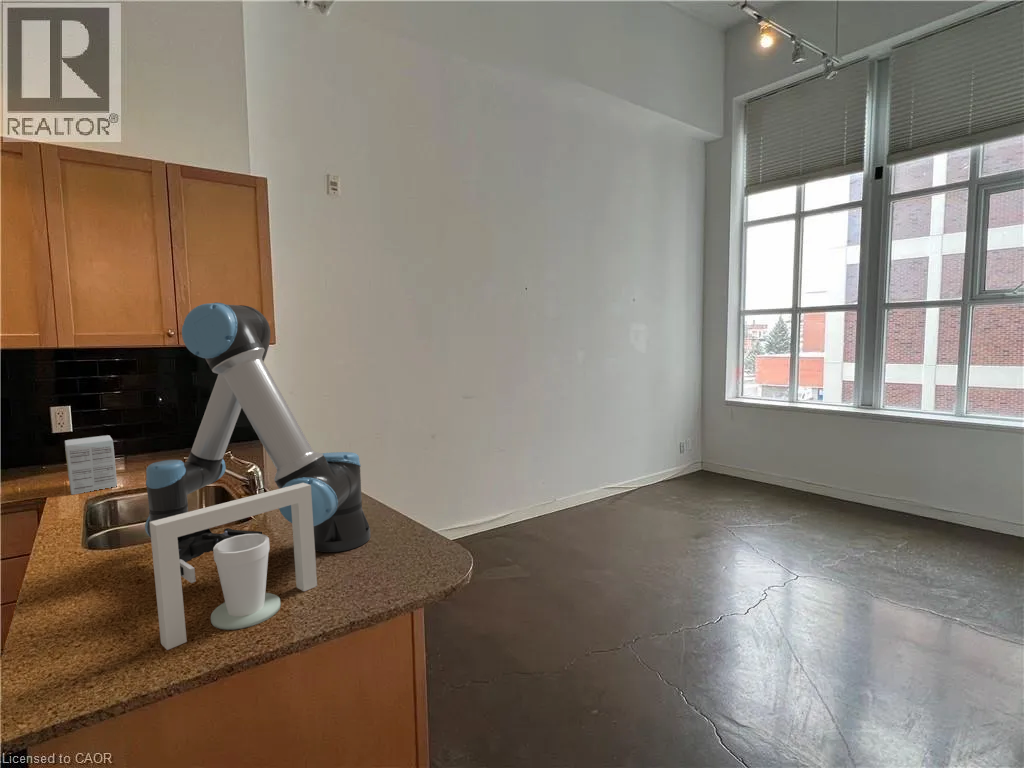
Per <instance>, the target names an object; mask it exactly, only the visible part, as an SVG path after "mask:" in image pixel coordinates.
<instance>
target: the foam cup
mask: <svg viewBox="0 0 1024 768" xmlns="http://www.w3.org/2000/svg"><path fill="white" fill-rule="evenodd" d="M270 550H271V549H270V537H268V535H266V534H263V533H262V534H244V535H238V536H234V537H231V538H227V539H224V540H222V541H221V542H219V543H217V544H216V545H215V546H214V548H213V551H212V552H213V561H214V562H215V564H216V568H217V572H218V578H219V582H220V585H221V586H220V587H221V590H222V593H223V598H224V602H225V603H226V607H227V610H228V613H229V615H231V616H235V617H236V616H246V615H250V614H253V613H255V612H257V611H259V610H260V609H261V608H263V606H264V601H265V593H266V592H267V591H266V590H267V578H268V577H267V576H268V575H267V574H268V565H269V563H268V562H269V553H270Z"/></svg>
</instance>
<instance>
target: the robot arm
mask: <svg viewBox="0 0 1024 768" xmlns="http://www.w3.org/2000/svg"><path fill="white" fill-rule="evenodd" d="M270 327H271V326H270V324H269V322H268V320H267V318H266V316H265V315H264V314H263V313H261V311H260V310H257V309H256V308H255V307H252V306H249V305H248V306H247V305H243V304H241V305H240V304H239V305H238V304H236V305H235V304H228V303H227V304H226V303H222V302H214V303H213V302H212V303H202V304H200V305H197V306H196V307H194V308H192V309H191V310H190V311H189V312H188V314H187V315H186V316H185V317H184V322H183V325H182V328H181V335H182V336H181V337H182V341H183V343H184V345H185V347H186V349H187V350H188V351H189V352H190V353H192V354H193V355H195V356H197V357H199V358H202V359H205V361H206V363H207V365H208V366H209V368H210V371H212V373H214V374H217V377H216V380H215V383H214V386H213V388H212V391H211V394H210V397H209V400H208V402H207V405H206V409H205V411H204V415H203V417H202V419H201V423H200V425H199V428H198V430H197V433H196V437H195V438H194V442H193V444H192V448H191V450H190V453H189V455H188V457H187V459H186V460H187V461H185V462H184V461H182V459H166V460H160V461H155V462H152V463H150V464H148V465H147V467H146V470H145V471H146V472H145V473H146V478H145V479H146V480H145V486H146V491H147V501H148V502H147V503H148V510H149V513H148V517H147V519H146V522H145V524H144V530H145V533H146V534H147V536H148V537H150V538H151V533H150V522H151V521H155V520H159V519H163V518H167V517H171V516H175V515H178V514H182V513H186V512H189V504H188V495H189V494H192V493H194V492H195V491H198V490H201V489H202V488H205V487H207V486H209V485H212V484H214V483H216V481H218V480H220V479H221V478H222V477H223V476H224V474H225V473H226V469H227V466H226V462H225V460H224V456H225V453H226V451H227V448H228V445H229V443H230V440H231V437H232V435H233V432H234V429H235V426H236V425H237V424H236V423H237V422H238V419H239V416H240V413H241V411H243V413H244V414H245V416H246V418H247V419H248V421H249V423H250V425H251V426H252V428H253V430H254V432H255V433H256V435H257V437H258V439H259V441H260V443H261V444H262V447H264V450H265V451H266V453H267V455H268V456H269V459H270V460H271V461H272V463H273V465H274V467H275V469H276V472H275V476H274V480H273V481H274V482H275V485H276V486H277V489H280V488H284V487H288V486H292V485H296V484H300V483H306V484H309V485H311V494H312V510H313V526H314V543H315V552H319V553H320V552H321V553H338V552H345V551H349V550H353V549H356V548H358V547H361V546H363V545H365V544H366V543H367V542H369V541H370V539H371V527H370V524H369V522H368V520H367V517H366V515H365V513H364V512H365V511H364V509H363V503H362V501H363V498H362V482H361V481H362V479H361V466H362V465H361V463H360V455H358V454H357V453H356V452H351V451H349V452H348V451H340V452H338V451H336V452H335V451H334V452H324V453H323V452H322V453H321V452H317V451H314V450H313V447H311V444H310V442H309V441H308V439H307V437H306V436H305V433H304V432H303V431H302V429H301V427H300V424H299V423H298V421H297V419H296V418H295V416H294V414H293V412H292V410H291V408H290V407H289V404H287V401H286V400H285V398H284V396H283V394H282V393H281V391H280V388H279V387H278V385H277V383H276V382H275V380H274V378H273V376H272V374H271V373H270V371H269V369H268V368H267V366H266V364H265V359H266V356H267V353H268V350H269V347H270V343H271V334H272V333H271V332H272V331H271V328H270ZM279 512H280V513H281V515H282V517H284V519H285V520H286V521H288V522H289V523H290V524H292V512H291V505H289V506H286V507H282V508H279ZM244 534H263V531H258V530H245V529H243V530H241V529H233V528H229V527H228V528H224V529H223V532H222V533H216V532H212V531H211V528H208V529H205V530H201V531H198V532H194V533H191V534H187V535H184V536H180V537H177V538H178V549H179V560H180V572H181V578H183V579H185V580H186V581H188V582H189V583H190V584H193V583H195V582H196V571H195V567H193V565H191V564H189V563H188V562H190V561H192V560H193V559H196V558H198V557H200V556H201V555H203V554H204V553H205V554H206V553H207V554H208V553H210V552H213V548H214V546H215V545H216V544H217V543H219V542H221V541H222V540H224V539H227V538H231V537H234V536H238V535H244Z"/></svg>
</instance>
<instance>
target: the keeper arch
mask: <svg viewBox="0 0 1024 768" xmlns="http://www.w3.org/2000/svg"><path fill="white" fill-rule="evenodd" d="M289 505H291V512H292V523H291V524H292V540H293V556H294V568H295V569H294V571H295V583H296V585H295V586H296V588H297V589H299V590H301V591H302V592H306V591H308V590H311V589H313V588H315V587H318V578H317V562H316V560H317V559H316V551H315V543H314V526H313V510H312V494H311V485H309V484H306V483H300V484H296V485H292V486H288V487H284V488H280V489H279V488H277V489H273V490H269V491H266V492H265V491H264V492H262V493H257V494H254V495H249V496H246V497H242V498H237V499H234V500H233V499H232V500H230V501H227V502H222V503H219V504H214V505H210V506H207V507H202V508H199V509H195V510H190V511H188V512H186V513H182V514H178V515H175V516H171V517H167V518H163V519H159V520H155V521H151V522H150V533H151V537H150V543H151V551H152V552H151V554H152V564H153V573H154V582H155V583H154V585H155V594H156V606H157V607H156V608H157V614H158V615H157V616H158V617H157V618H158V625H159V626H158V627H159V638H160V644H161V645H162V647H163V648H164V649H166V651H169V650H171V649H173V648H176V647H178V646H181V645H182V644H183V645H184V644H186V643H187V642H188V640H187V639H188V638H187V630H186V628H187V627H186V619H185V608H184V594H183V586H182V576H181V572H180V560H179V549H178V538H177V537H180V536H184V535H187V534H191V533H194V532H198V531H201V530H205V529H208V528H209V529H211V528H214V527H215V528H216V527H218V526H222V525H225V524H230V523H233V522H235V521H236V522H237V521H240V520H243V519H247V518H250V517H254V516H257V515H260V514H261V515H262V514H264V513H267V512H271V511H274V510H278V509H279V508H282V507H286V506H289ZM280 609H281V598H280V597H279V596H278V595H276V594H274V593H271V592H265V601H264V606H263V608H261V609H260V610H259V611H257V612H255V613H253V614H250V615H246V616H236V617H235V616H231V615H229V613H228V610H227V607H226V603H225V601H224V602H223V603H221V604H220V605H218V606H217V607H216V608H215V609H214V610H213V611H212V613H211V614H210V623H211V624H212V626H213V627H215V628H216V629H218V630H219V629H220V630H225V631H226V630H227V631H230V630H232V631H233V630H240V629H246V628H250V627H252V626H257V625H258V624H261V623H264V622H266V621H267V620H269V619H270V618H272V617H274V615H276V614H277V613H278V611H280Z"/></svg>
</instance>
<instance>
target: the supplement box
mask: <svg viewBox="0 0 1024 768" xmlns="http://www.w3.org/2000/svg"><path fill="white" fill-rule="evenodd" d="M64 448H65V449H64V450H65V459H66V468H67V475H68V484H69V488H70V489H69V490H70V494H71V495H77V494H78V495H79V494H83V493H84V492H85V493H90V491H91V492H95V491H94V490H97V491H100V490H99V489H103V490H106V489H105V488H109V489H112V488H111V487H115V486H117V487H118V480H117V469H116V459H115V457H116V456H115V449H114V448H115V447H114V440H113V438H112V437H111V435H108V434H106V435H99V436H89V437H82V438H72V439H67V440H64ZM115 488H116V487H115Z"/></svg>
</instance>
